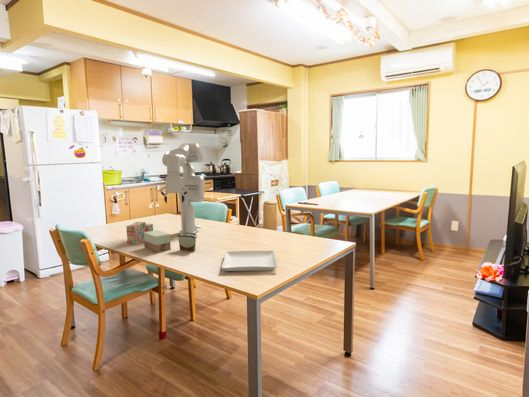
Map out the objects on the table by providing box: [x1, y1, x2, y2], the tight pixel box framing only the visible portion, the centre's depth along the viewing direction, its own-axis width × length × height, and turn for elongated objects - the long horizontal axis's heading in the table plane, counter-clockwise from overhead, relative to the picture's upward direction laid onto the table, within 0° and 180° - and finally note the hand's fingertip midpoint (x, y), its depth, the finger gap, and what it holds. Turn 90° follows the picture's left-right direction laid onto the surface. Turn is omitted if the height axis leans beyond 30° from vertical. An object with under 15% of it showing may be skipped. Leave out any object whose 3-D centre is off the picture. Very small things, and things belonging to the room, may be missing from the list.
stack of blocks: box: [126, 221, 154, 246], centre depth 223 cm, size 21×6×12 cm, turn 168°
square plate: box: [221, 250, 278, 272], centre depth 175 cm, size 27×27×4 cm
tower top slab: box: [144, 229, 171, 245], centre depth 203 cm, size 9×15×5 cm, turn 46°
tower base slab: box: [143, 241, 172, 254], centre depth 204 cm, size 9×15×5 cm, turn 46°
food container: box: [177, 232, 198, 253], centre depth 201 cm, size 12×6×10 cm, turn 71°
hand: (174, 202), depth 207 cm, fingers open, 9 cm apart
